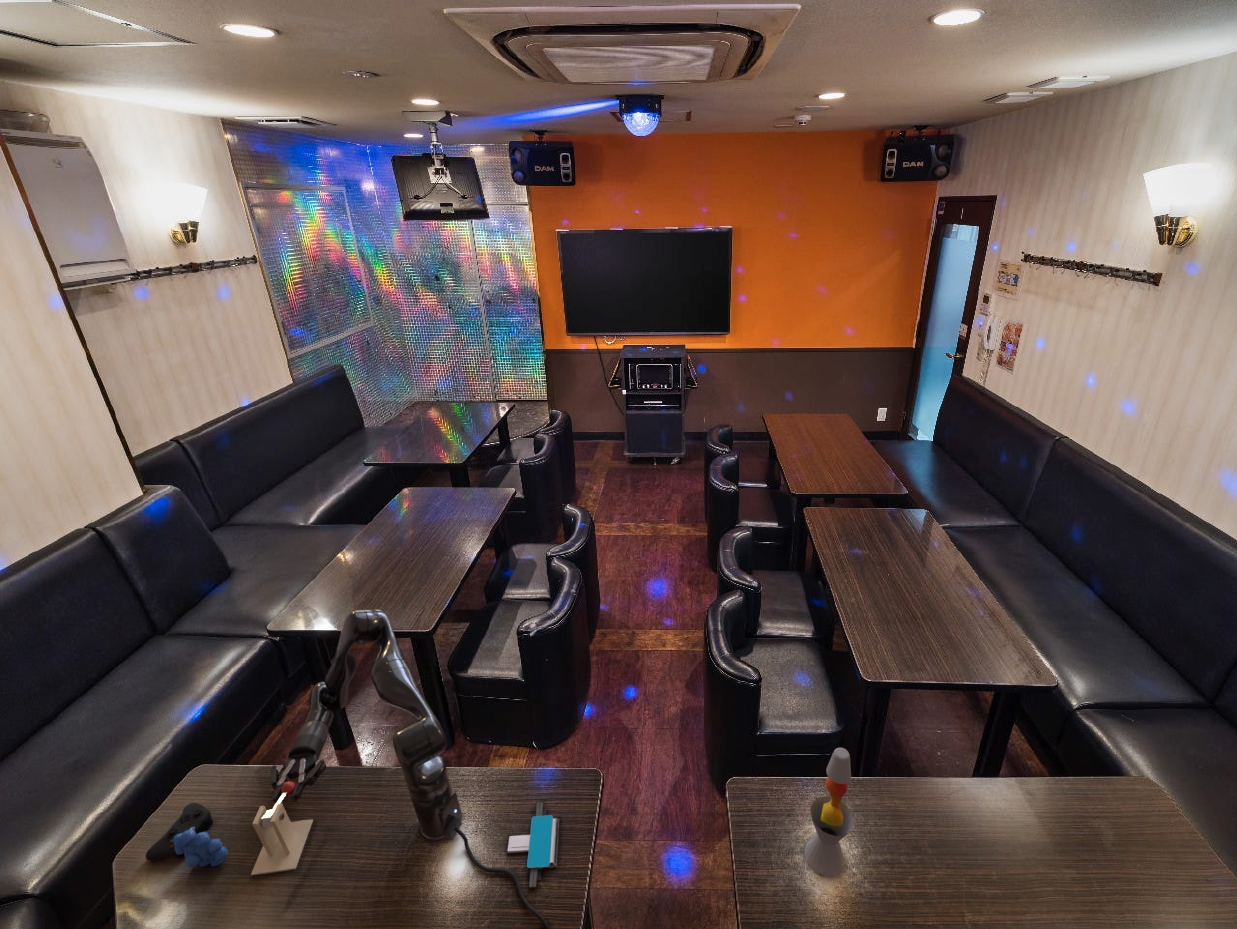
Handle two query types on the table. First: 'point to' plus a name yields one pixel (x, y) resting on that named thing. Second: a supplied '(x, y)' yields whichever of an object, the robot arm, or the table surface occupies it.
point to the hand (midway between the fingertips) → (285, 800)
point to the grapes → (199, 848)
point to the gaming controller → (180, 831)
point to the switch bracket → (279, 841)
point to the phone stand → (538, 844)
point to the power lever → (278, 802)
